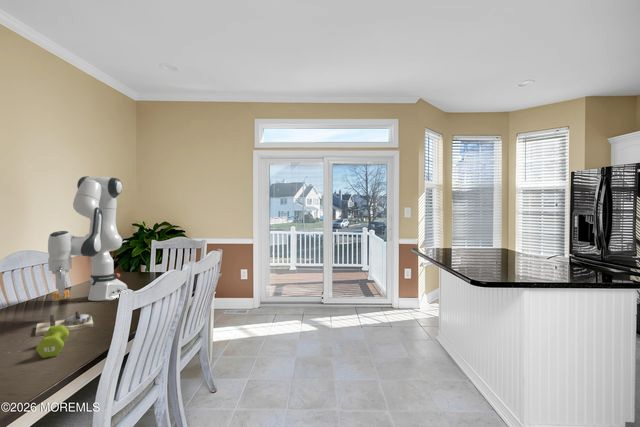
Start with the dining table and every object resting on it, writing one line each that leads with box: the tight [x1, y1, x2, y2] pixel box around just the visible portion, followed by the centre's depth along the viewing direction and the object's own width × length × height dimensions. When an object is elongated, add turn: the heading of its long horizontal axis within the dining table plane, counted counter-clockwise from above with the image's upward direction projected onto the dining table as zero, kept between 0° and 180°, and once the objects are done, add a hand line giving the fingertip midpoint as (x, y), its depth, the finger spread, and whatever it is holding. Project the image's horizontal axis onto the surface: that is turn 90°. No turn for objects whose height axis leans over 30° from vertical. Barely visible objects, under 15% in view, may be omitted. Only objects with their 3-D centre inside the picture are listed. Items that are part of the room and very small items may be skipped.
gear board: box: [35, 310, 94, 337], centre depth 152 cm, size 20×13×6 cm, turn 128°
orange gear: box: [51, 289, 71, 301], centre depth 162 cm, size 7×7×3 cm
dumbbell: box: [35, 325, 70, 359], centre depth 128 cm, size 16×8×7 cm, turn 29°
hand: (61, 294), depth 162 cm, fingers closed on orange gear, 7 cm apart
